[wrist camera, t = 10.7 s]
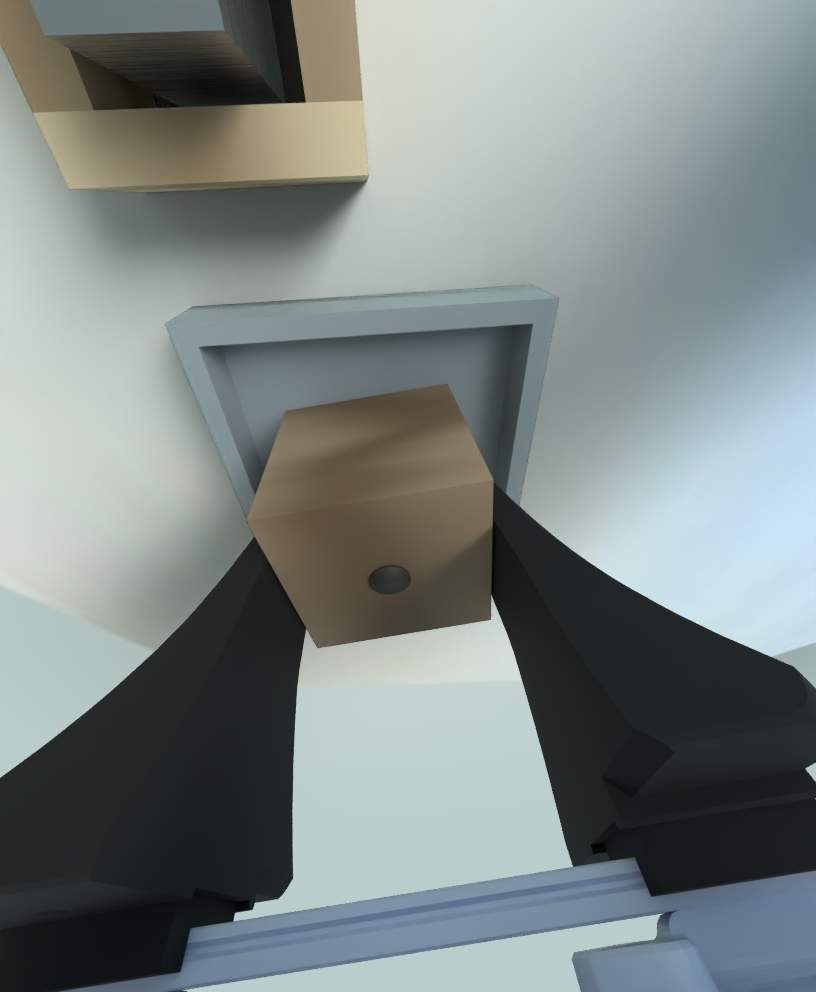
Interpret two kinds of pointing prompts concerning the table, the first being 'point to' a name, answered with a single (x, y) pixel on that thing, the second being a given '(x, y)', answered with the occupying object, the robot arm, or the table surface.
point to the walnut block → (378, 516)
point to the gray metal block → (176, 46)
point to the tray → (369, 366)
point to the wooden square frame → (195, 115)
